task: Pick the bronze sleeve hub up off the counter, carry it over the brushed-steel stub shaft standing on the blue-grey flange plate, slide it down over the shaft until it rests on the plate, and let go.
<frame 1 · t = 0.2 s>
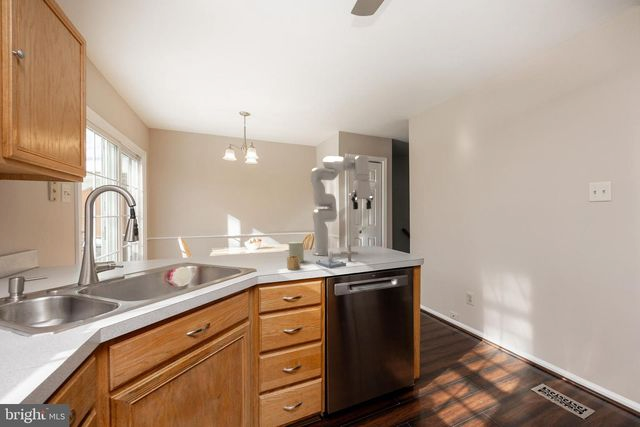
hand: (362, 209, 151), 31 cm above the worktop, fingers open, 9 cm apart
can: (296, 261, 166), on the worktop
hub: (293, 268, 146), on the worktop
shaft stand: (330, 264, 154), on the worktop
pipe connector: (349, 261, 163), on the worktop
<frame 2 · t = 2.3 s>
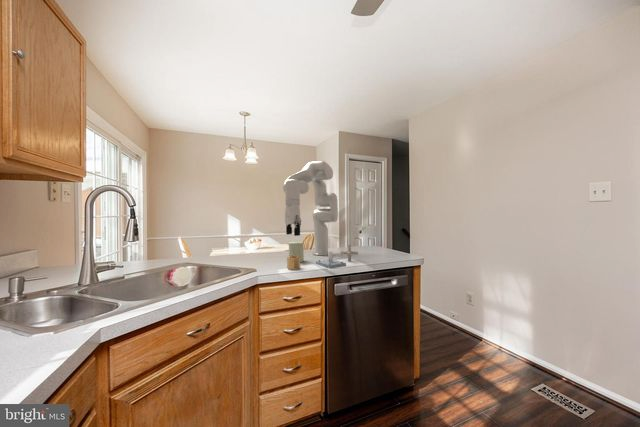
hand: (293, 234, 146), 18 cm above the worktop, fingers open, 9 cm apart
nothing on the worktop moved.
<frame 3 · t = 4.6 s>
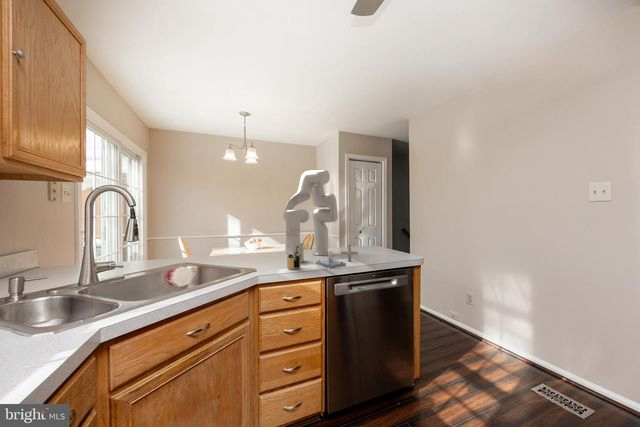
hand: (293, 266, 146), 1 cm above the worktop, fingers closed on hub, 6 cm apart
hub: (293, 268, 146), on the worktop, touching gripper
everything else where it was.
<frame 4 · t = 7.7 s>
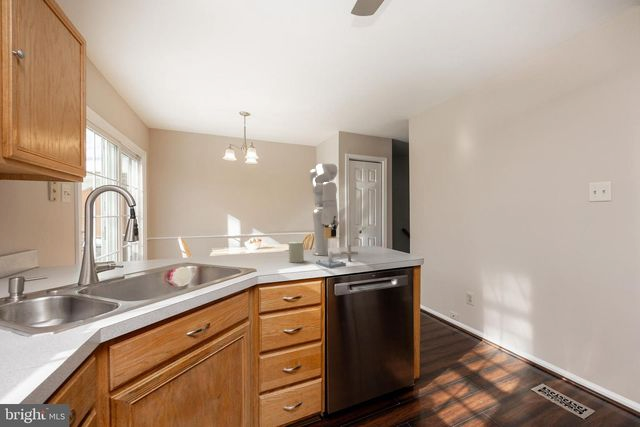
hand: (330, 235, 153), 16 cm above the worktop, fingers closed on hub, 6 cm apart
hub: (330, 237, 153), point 15 cm above the worktop, touching gripper
everything else where it was.
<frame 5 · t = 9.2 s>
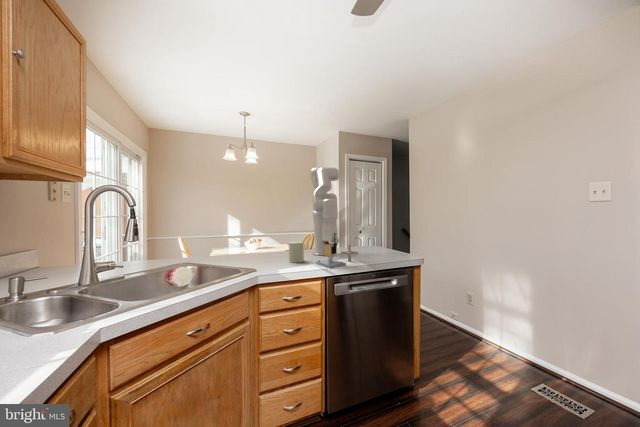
hand: (330, 252, 153), 7 cm above the worktop, fingers closed on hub, 6 cm apart
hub: (330, 254, 153), point 6 cm above the worktop, touching gripper
everything else where it was.
when the fingers open (4 cm above the worktop, at t = 10.7 s): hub drops 1 cm, resting on shaft stand.
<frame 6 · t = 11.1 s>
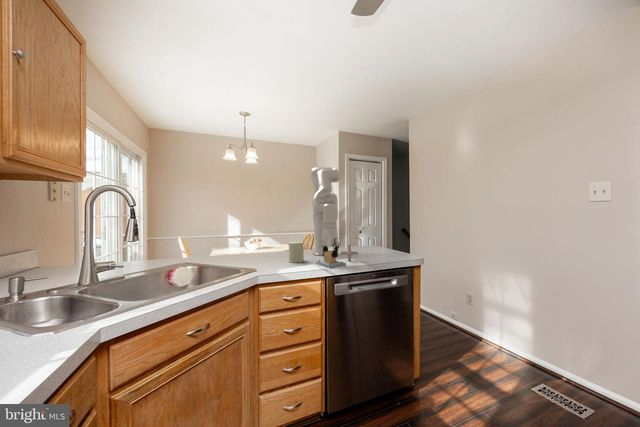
hand: (330, 256, 153), 5 cm above the worktop, fingers open, 9 cm apart
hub: (330, 262, 154), point 1 cm above the worktop, touching shaft stand
everything else where it was.
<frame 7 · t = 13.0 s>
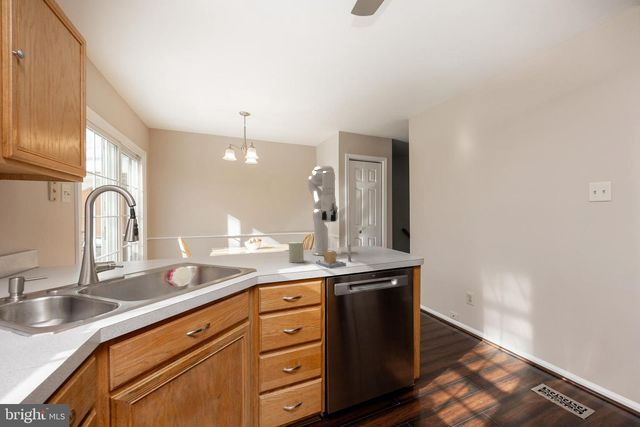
hand: (328, 220, 163), 24 cm above the worktop, fingers open, 9 cm apart
nothing on the worktop moved.
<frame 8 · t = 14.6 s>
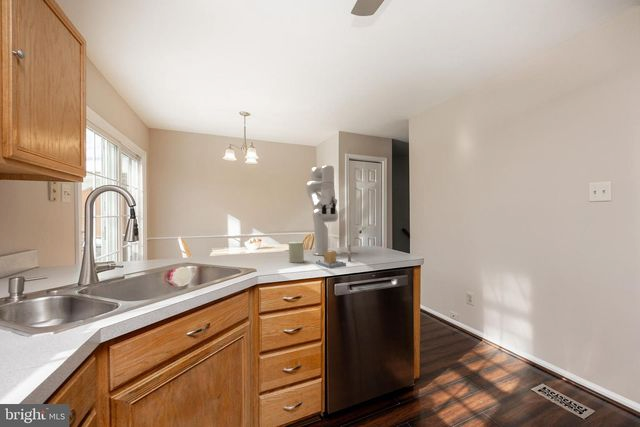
hand: (328, 214, 167), 28 cm above the worktop, fingers open, 9 cm apart
nothing on the worktop moved.
at the end: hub 0.2 cm off-centre on the shaft stand, point 1.5 cm above the shaft stand's base; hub tilted 0°; the gripper is holding nothing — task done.
